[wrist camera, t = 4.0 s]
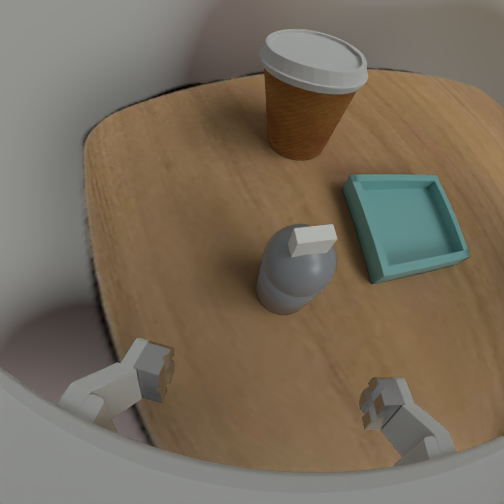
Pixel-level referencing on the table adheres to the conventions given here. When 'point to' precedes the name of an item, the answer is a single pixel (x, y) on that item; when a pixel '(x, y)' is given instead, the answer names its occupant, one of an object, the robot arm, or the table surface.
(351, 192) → the tray
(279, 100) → the disposable coffee cup
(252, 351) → the table surface
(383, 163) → the table surface
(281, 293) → the gray bottle
